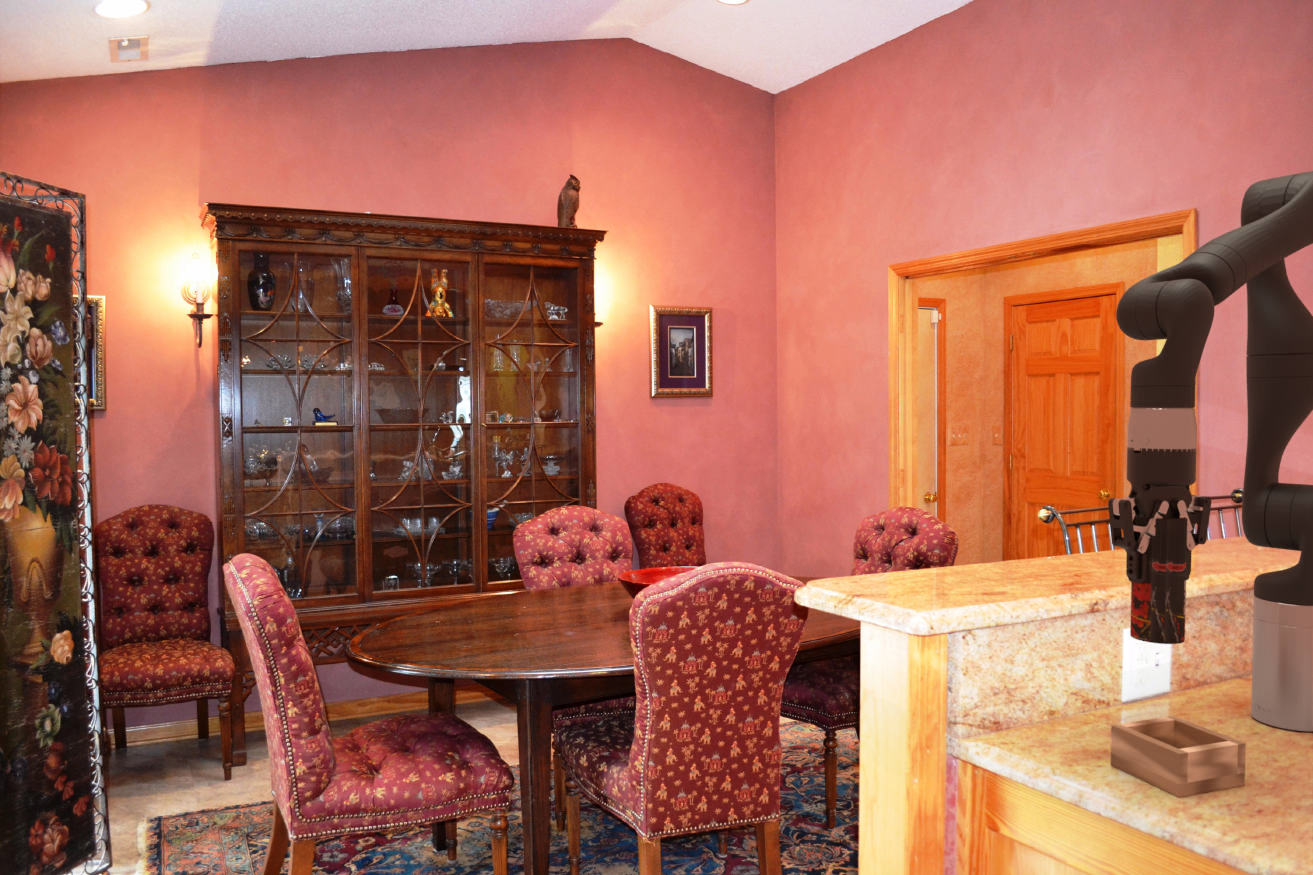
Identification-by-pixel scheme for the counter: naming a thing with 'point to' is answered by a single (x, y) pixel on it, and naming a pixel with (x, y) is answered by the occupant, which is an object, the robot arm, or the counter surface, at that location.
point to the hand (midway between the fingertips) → (1158, 580)
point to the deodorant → (1162, 585)
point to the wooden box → (1178, 755)
